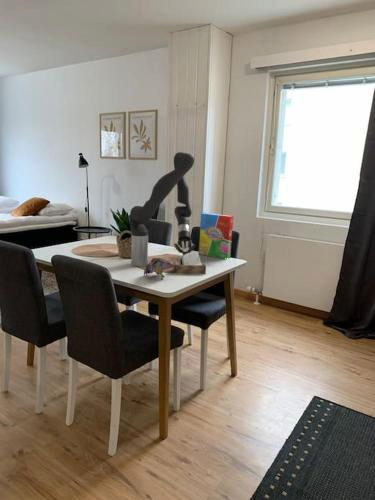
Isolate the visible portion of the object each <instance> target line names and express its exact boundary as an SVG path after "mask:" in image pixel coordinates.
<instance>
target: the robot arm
mask: <svg viewBox="0 0 375 500" xmlns="http://www.w3.org/2000/svg"><path fill="white" fill-rule="evenodd" d="M194 165H195V156H194V155H193V154H191V153H186V152H183V151H181V152H180V151H179V152H176V153H175V154H174V157H173V167H174V169H173V170H171V171H170V172H168V173H166V174H164V175H163V176H162V177H160V178H159V179H158V181H156V183H155V184H154V186H153V187H152V190H151V195H150V197H149V199H148V200H147V202H146V203H145V204H144V205H143V206H141V205H140V206H139V205H135V206H133V207H132V208H131V209H130V213H129V226H130V232H131V254H130V255H131V257H130V258H131V259H130V260H131V261H130V266H132V267H133V266H134V267H146V266H147V265H148V264H149V261H148V260H149V257H148V256H149V251H148V250H149V230H148V229H147V228H146V225H145V224H147V223H149V221H150V220H151V219H152V217H153V216H154V215H155V213H156V211H157V209H158V208H159V207H160V206H161V204H162V203H163V202H164V200H165V199H166V198H167V197H168V195H170V193H171V191H172V190H173V189H174V188H175V186H176V187H177V188H176V192H177V193H176V194H177V195H176V197H177V198H176V199H177V203H179V204H182V205H183V206H181V205H178V206H175V208H174V217H175V219H176V221H177V243H174V244H173V247H174V248H175V249H176V250H177V251H178V253H180V254H182V256H183V255H185V254H187V253H192V251H193V250H194V249H195V248H196V244H195V243H193V241H192V238H191V228H190V219H189V218H190V217H191V216H192V208H191V204H190V199H189V198H190V190H189V186H188V183H187V180H186V178H185V175H186V174H187V173H188V172H189V171H190V170H191V169H192V168H193V166H194Z"/></svg>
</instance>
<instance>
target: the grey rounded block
mask: <svg viewBox="0 0 375 500" xmlns="http://www.w3.org/2000/svg"><path fill="white" fill-rule="evenodd" d="M178 265H202V262H201V259H200V254H199V253H197V252H190V253H187V254H185V255H183V254H182V255H181V256H180V257H179V258H178Z"/></svg>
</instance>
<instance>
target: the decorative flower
mask: <svg viewBox="0 0 375 500" xmlns="http://www.w3.org/2000/svg"><path fill="white" fill-rule="evenodd" d="M169 268H173V265H172V264H171V263H170V261H168V260H166V259H165V258H159V257H158V258H157V257H153V258H151V261H150V262H148V265H146V266H145V268H144V270H143V277H145V276H146V277H148V275H150V274H153V273H155V274H156V275H157V276H160V277H161V278H160V279H161V280H164V278H165V275H163V272H164V270H167V269H168V270H169Z"/></svg>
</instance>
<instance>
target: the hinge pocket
mask: <svg viewBox="0 0 375 500" xmlns="http://www.w3.org/2000/svg"><path fill="white" fill-rule="evenodd" d="M172 263H173V264H172V271H173V274H179V275H181V274H182V275H183V274H185V275H186V274H189V275H193V274H194V275H200V274H201V275H202V274H203V275H204V274H207V265H206V263H205V262H203V261H202V262H201V263H202V265H179V264H176V261H173V262H172Z"/></svg>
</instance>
